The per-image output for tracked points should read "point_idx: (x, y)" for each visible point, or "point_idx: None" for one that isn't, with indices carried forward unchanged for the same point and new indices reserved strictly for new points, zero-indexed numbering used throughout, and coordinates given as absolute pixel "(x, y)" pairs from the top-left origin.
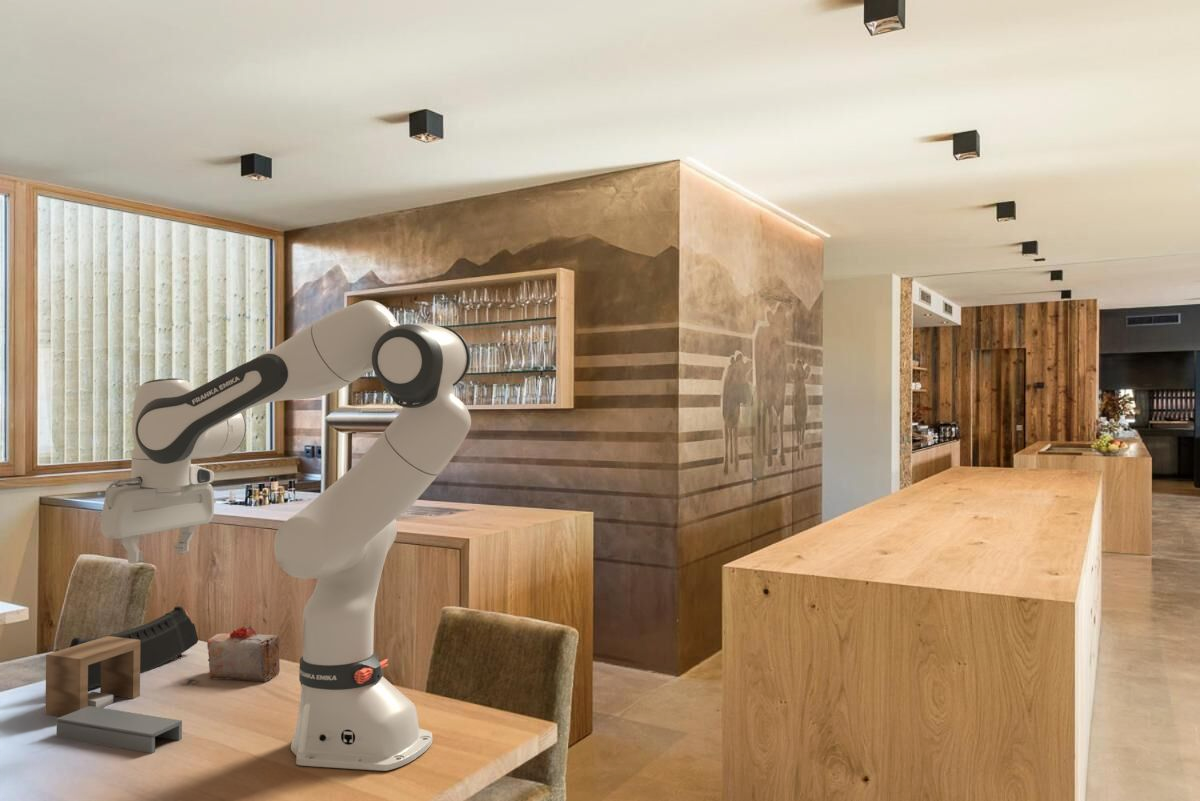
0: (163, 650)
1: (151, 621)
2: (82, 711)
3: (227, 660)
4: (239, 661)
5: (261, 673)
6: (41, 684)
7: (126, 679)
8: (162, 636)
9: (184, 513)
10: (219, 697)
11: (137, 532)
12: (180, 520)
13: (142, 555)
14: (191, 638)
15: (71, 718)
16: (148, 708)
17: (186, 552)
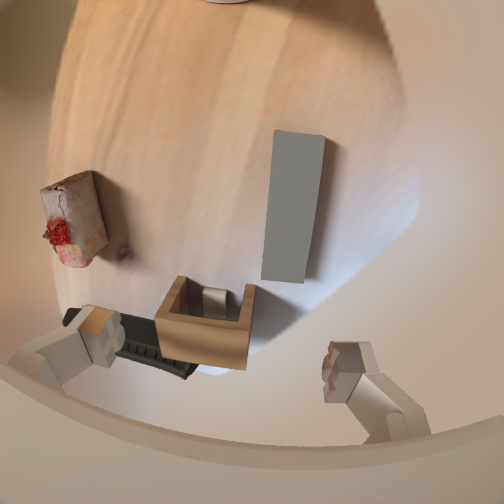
0: None
1: None
2: (278, 273)
3: (93, 225)
4: (88, 209)
5: (88, 176)
6: None
7: (181, 297)
8: None
9: (21, 458)
10: (145, 185)
11: (439, 445)
12: (64, 439)
13: (341, 358)
14: (72, 313)
15: (300, 268)
16: (203, 240)
17: (96, 306)
